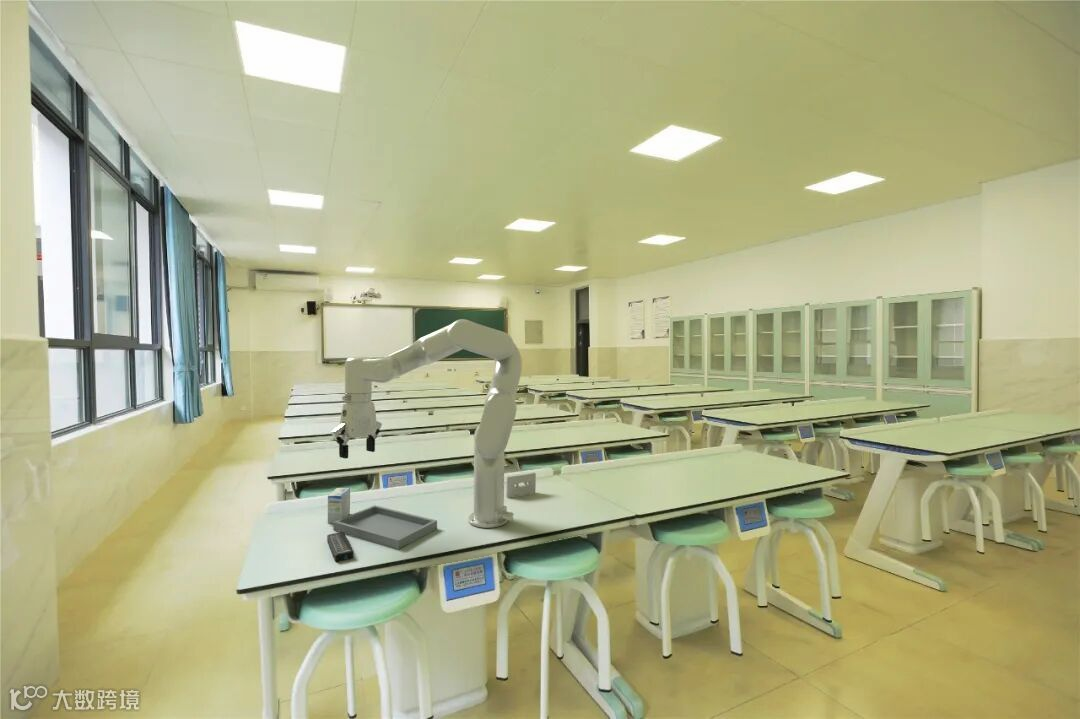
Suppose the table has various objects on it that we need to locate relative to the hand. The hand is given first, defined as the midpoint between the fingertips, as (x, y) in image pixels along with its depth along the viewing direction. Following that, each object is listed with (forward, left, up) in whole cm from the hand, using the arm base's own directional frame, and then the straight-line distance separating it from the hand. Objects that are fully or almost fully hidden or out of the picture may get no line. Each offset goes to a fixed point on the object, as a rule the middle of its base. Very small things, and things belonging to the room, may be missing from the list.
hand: (357, 454), depth 142 cm
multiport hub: (-9, +13, -23) cm, 28 cm away
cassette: (-29, -49, -22) cm, 61 cm away
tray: (-9, -2, -22) cm, 24 cm away
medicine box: (+10, -1, -22) cm, 24 cm away
